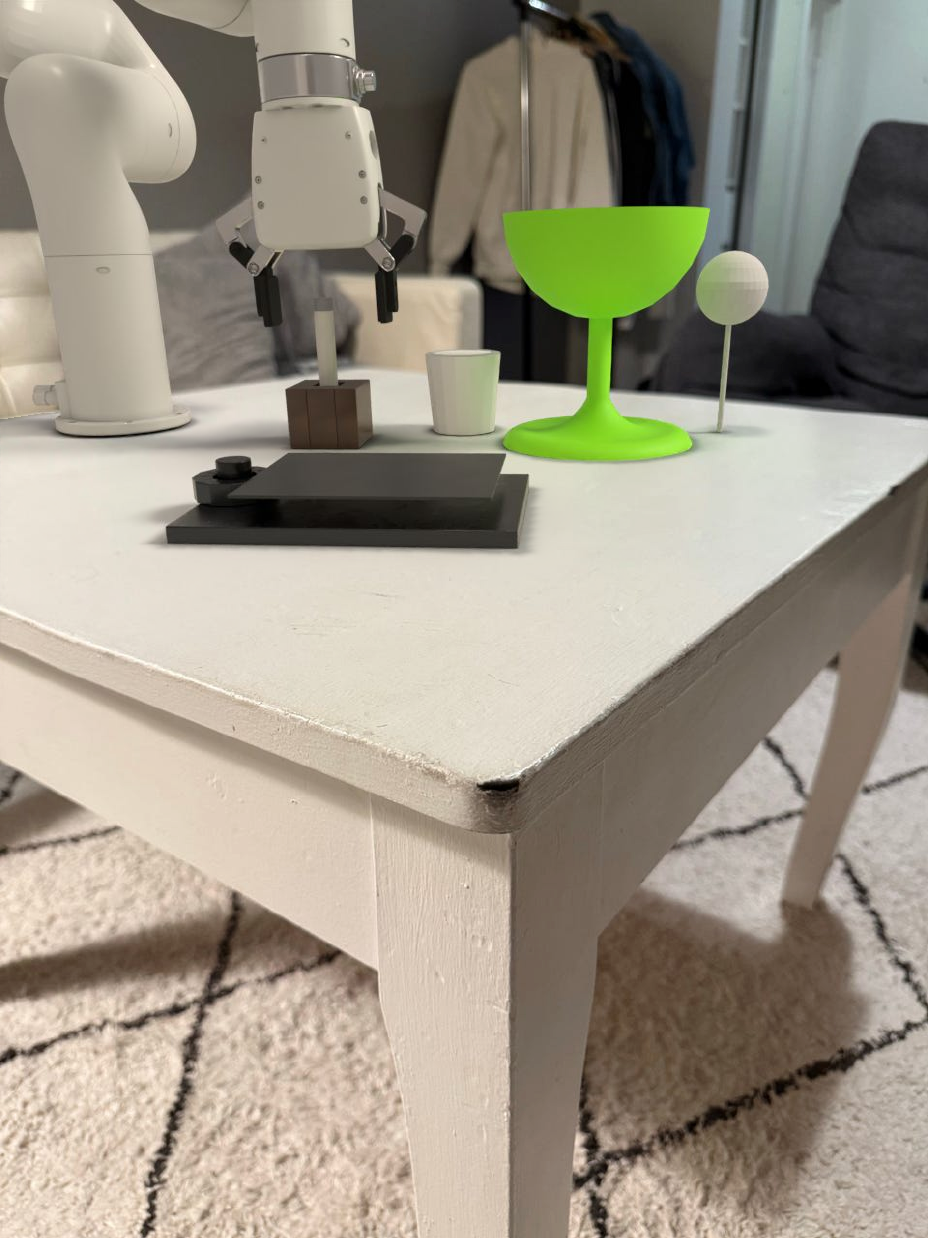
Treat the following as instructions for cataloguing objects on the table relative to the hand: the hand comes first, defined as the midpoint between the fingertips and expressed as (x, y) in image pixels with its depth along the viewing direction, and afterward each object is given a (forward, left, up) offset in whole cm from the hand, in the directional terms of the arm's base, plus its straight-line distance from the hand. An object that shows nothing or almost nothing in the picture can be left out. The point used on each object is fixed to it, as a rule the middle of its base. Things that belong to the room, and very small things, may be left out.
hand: (329, 324), depth 77 cm
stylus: (0, 0, -10) cm, 10 cm away
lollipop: (+34, +5, -10) cm, 35 cm away
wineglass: (+23, 0, -10) cm, 25 cm away
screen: (+9, -24, -7) cm, 26 cm away
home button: (-1, -24, -8) cm, 25 cm away
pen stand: (0, 0, -10) cm, 10 cm away
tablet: (+8, -24, -10) cm, 27 cm away
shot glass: (+11, +6, -10) cm, 16 cm away
